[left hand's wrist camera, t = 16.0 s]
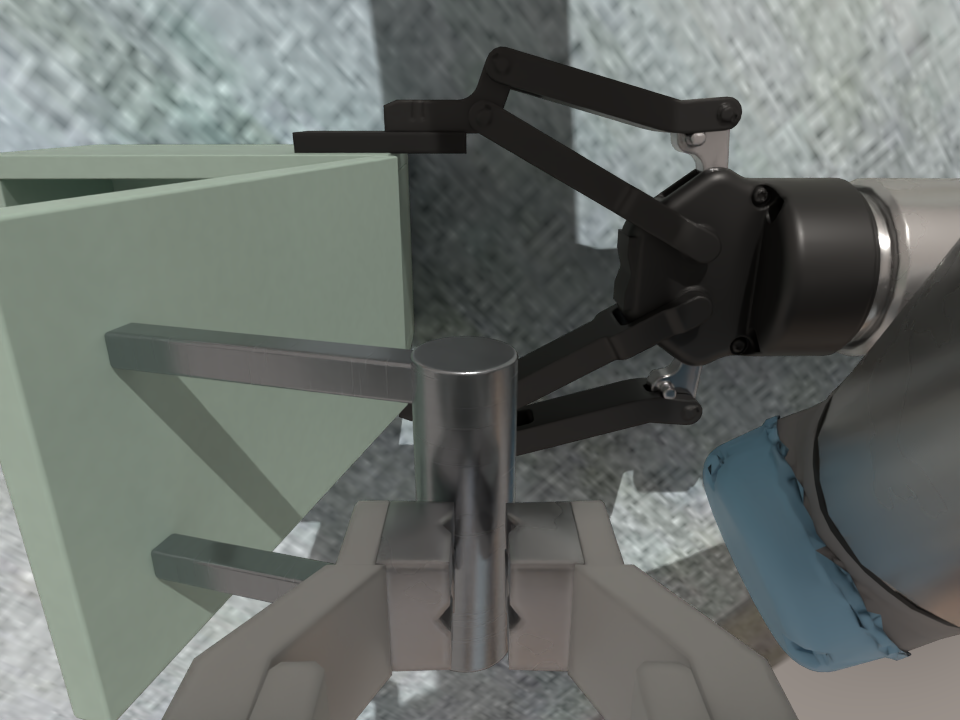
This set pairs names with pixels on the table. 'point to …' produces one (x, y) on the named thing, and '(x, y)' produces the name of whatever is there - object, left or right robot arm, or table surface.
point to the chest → (172, 178)
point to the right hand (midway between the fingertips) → (313, 271)
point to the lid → (226, 407)
